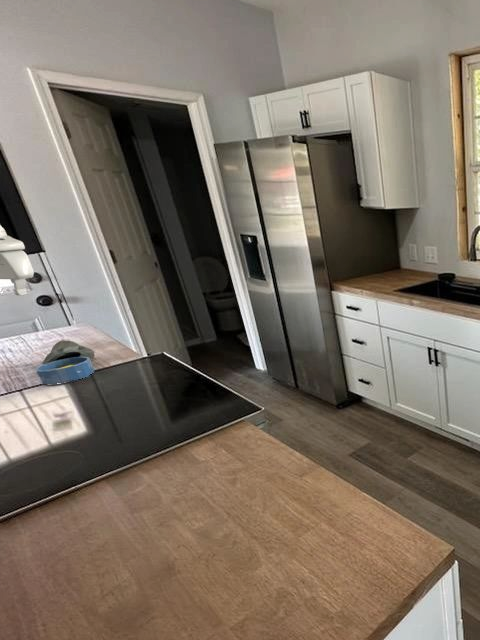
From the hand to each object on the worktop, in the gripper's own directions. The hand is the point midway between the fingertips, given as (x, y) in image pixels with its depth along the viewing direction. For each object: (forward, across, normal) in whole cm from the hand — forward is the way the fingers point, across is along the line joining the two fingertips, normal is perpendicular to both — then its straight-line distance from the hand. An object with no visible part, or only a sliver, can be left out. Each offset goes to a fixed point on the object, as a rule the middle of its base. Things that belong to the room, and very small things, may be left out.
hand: (9, 294), depth 115 cm
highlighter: (+28, -5, +7) cm, 30 cm away
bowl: (+29, -5, +7) cm, 30 cm away
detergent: (+29, -21, +18) cm, 40 cm away
